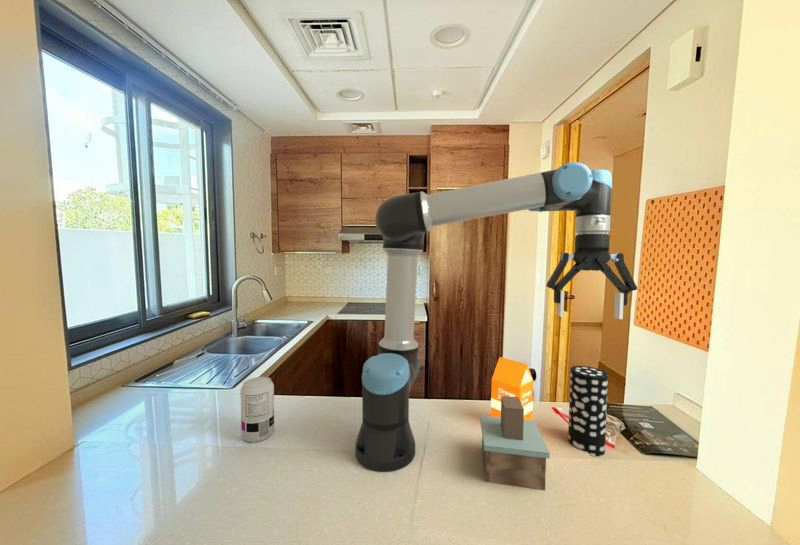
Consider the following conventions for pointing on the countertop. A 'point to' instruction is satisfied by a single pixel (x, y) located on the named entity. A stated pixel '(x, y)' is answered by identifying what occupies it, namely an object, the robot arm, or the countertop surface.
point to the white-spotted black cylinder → (588, 409)
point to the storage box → (514, 469)
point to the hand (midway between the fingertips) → (588, 317)
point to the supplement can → (257, 409)
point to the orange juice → (512, 386)
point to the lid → (512, 431)
